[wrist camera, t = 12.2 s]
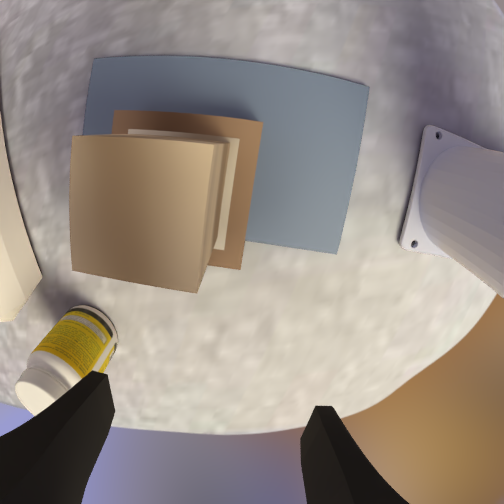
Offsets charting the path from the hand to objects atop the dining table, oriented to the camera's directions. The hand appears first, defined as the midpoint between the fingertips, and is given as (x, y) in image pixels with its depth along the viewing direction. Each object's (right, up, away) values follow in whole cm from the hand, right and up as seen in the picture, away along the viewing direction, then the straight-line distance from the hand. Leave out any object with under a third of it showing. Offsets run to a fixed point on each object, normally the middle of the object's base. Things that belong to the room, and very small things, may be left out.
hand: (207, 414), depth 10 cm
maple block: (-2, +9, +4) cm, 10 cm away
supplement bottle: (-11, 0, +12) cm, 16 cm away
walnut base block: (-2, +9, +7) cm, 12 cm away
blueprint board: (-1, +11, +7) cm, 13 cm away
